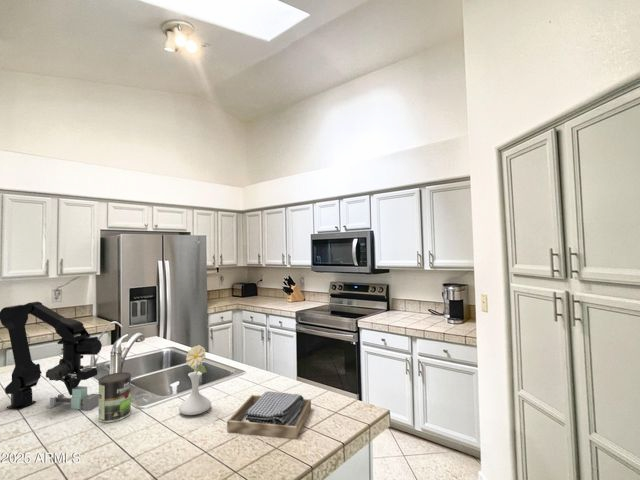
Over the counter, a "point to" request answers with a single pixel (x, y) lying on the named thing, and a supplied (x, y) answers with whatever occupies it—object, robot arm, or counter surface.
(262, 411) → the towel
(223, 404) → the counter surface
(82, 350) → the robot arm
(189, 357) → the flower in vase
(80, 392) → the mint stepped block
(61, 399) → the grey angular piece
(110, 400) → the coffee can
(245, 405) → the linen tray frame
